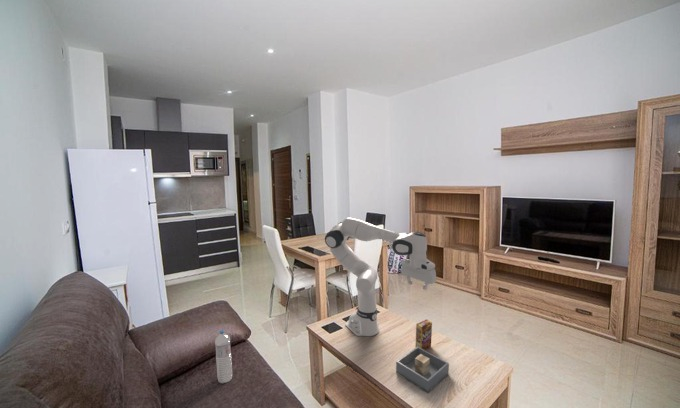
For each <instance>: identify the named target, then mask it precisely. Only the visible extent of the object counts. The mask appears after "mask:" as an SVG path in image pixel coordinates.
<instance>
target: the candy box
mask: <svg viewBox="0 0 680 408" xmlns="http://www.w3.org/2000/svg"><path fill="white" fill-rule="evenodd" d="M415 327H416V328H415V347H414V348H416V347H419V348H421V349H423V350H425V351H427V350H428V349H430V348H431V347H432V335H433V334H432V333H433V331H432V330H433V322H432V321H431V320H429V319H424V320H422V321H420V322H418V323H416V324H415Z"/></svg>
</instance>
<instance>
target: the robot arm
mask: <svg viewBox="0 0 680 408" xmlns="http://www.w3.org/2000/svg"><path fill="white" fill-rule="evenodd" d="M350 238H353V239H356V240H357V241H361V242H370V241H375V240H382V241H386V242H389V243H392V245H391V248H392V251H393V252H394V254H395V255H397V256H409V259H407V258H403V259H402V260H401V267H400V273H401V275H403V276H406V279H407V284H408V285H412V284H413V280H412V279H415V280H418V281H421V282H424V285H423V286H422V290H424V291H427V289H428V286H429V285H433V284H435V283H436V281H437V272H436V269H435V268H436V264H435V263H434V262H432V261H431V260H430V259H428V258H427V257H428V256H427V250H428V241H427V236H426V235H425V234H424V233H422V232H420V231H412V232H410V233H409V232H396V231H392V230H390V229H386V228H382V227H379V226H376V225H374V224H372V223H370V222H367V221H364V220H361V219H357V218H352V217H346V218H344V219H343V220H342V221H340V222H337V224H336V225H334V226H333V227H332V228H331V229H330V230H329V231H328V232H327V233H326V235H325V236H324V242H325V244H326V246H327V247H329V250H330V253H331V254H332V256H333V257H334V258H335V259H336V261H337V262H338V263H339V264H340V265H341V266H342V267H343V268H344V269H345V270H346V271H347V272H349V273H352V274H353V275H355V276H356V277H357V278H356V281H355V282H356V283H355V287H356V291H357V297H358V300H357V301H358V306H357V307H355V308H354V309H355V312H353V313H352V314H351V315H350V316H349V318H348V320H347V321H346V322H345V326H346V327H347V329H348V330H350V331H351V332H352V333H353V334H354V335H355V336H357V337H361V336H364V337H372V336H373V337H374V336H375V335H377V334H378V333H379V332H380V329H379V323H378V308H377V295H376V282H377V280H378V270H377V269H376V268H375V267H374V266H371V265H369V264H368V263H367V262H365V261H364V260H363V259H361V257H359V256H358V255H357V254H356V252H355V251H353V250H352V249H351V247H350V246H349V245H348V244H347V241H348V240H350ZM411 278H412V279H411Z"/></svg>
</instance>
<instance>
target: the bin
mask: <svg viewBox="0 0 680 408" xmlns="http://www.w3.org/2000/svg"><path fill="white" fill-rule="evenodd" d="M420 354H422V355H424V356H426V357H427V358H429V359H430V365H429V373H427V374H426V375H425V376H424V377H423V376H422V375H420V374H418V373H417V372H415V358H416V357H417V356H419V355H420ZM395 364H396V365H395V373H396V374H397V375H399V376H401V377H402V378H404V379H405V380H407V382H410V383H411V384H413V385H414V386H416V387H418V388H419V389H420V390H422V391H424V392H425V393H427V394H429V393H430V392H431V391H432V390H433V389H434V388H435V387H437V386H438V385H439V384H440V383H441V382H442V381H443V380H444V379H445V378H446V377H448V376H449V367H450V366H449V365H450V363H449V362H447V361H445V360H443V358H442V359H441V358H440V357H439V356H436V355H434V354H432V352H431V353H430V352H429V351H427V350H423V349H421V348H419V347H416V348H415V347H414V348H413V349H412V350H410V351H408V352H407V353H406V354H405V355H404V356H402V357H400V358H399V359H398V360H396V361H395Z"/></svg>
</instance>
